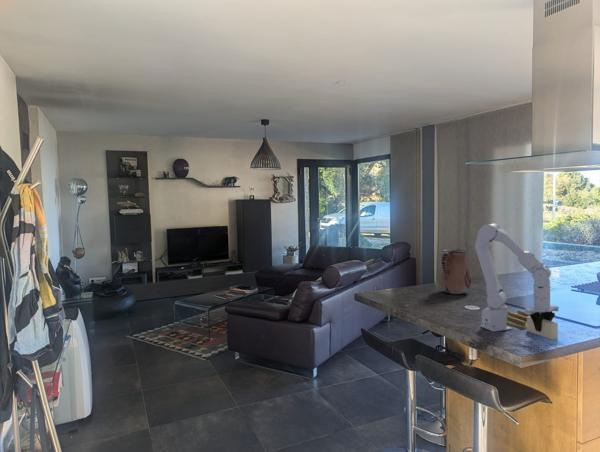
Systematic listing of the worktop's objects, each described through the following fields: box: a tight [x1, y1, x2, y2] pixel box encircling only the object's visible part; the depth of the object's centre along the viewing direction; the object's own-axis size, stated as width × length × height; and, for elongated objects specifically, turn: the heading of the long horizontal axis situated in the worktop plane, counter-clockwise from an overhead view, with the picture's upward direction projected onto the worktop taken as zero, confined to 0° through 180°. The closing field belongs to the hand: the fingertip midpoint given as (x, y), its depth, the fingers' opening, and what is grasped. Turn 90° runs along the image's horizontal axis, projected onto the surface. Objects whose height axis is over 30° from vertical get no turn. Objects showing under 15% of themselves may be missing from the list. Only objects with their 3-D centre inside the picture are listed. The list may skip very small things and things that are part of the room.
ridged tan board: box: [507, 309, 530, 330], centre depth 186 cm, size 16×18×2 cm
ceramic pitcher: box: [438, 248, 472, 295], centre depth 244 cm, size 18×21×25 cm
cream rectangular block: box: [526, 316, 559, 340], centre depth 168 cm, size 3×12×6 cm, turn 15°
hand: (541, 330), depth 168 cm, fingers closed on cream rectangular block, 3 cm apart
